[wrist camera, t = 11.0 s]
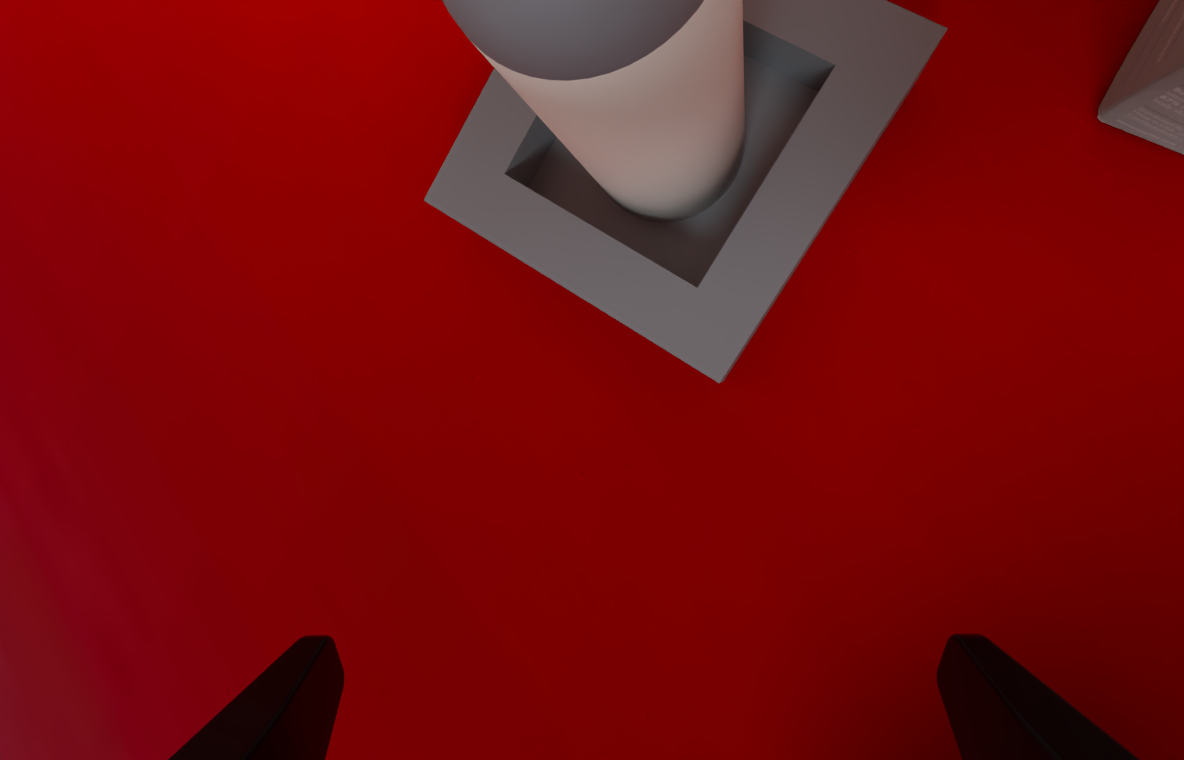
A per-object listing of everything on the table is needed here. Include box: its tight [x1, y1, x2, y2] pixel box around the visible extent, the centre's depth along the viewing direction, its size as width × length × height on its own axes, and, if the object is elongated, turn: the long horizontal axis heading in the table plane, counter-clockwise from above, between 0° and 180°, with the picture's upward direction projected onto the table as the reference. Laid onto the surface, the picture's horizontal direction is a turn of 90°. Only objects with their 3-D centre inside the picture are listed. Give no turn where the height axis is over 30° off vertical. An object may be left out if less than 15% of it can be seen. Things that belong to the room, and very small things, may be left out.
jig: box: [424, 0, 948, 383], centre depth 20 cm, size 11×11×3 cm
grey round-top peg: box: [442, 0, 745, 222], centre depth 14 cm, size 5×5×13 cm
